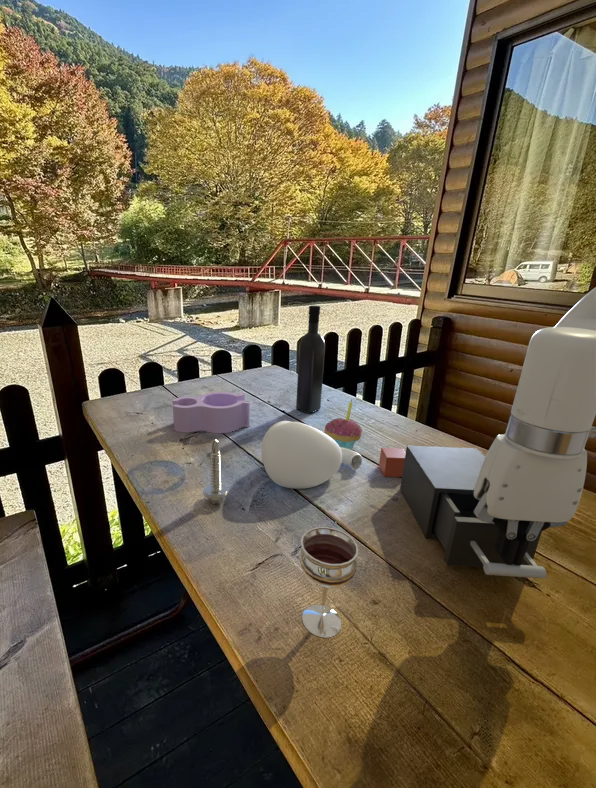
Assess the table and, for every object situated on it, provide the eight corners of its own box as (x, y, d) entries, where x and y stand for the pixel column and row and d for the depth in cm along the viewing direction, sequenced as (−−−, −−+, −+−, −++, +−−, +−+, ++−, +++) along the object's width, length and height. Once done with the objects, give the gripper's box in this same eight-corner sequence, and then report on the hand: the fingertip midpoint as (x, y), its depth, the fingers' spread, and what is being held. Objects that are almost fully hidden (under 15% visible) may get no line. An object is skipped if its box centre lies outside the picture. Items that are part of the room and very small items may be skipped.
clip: (175, 437, 104) (173, 411, 101) (173, 417, 115) (171, 394, 113) (252, 430, 107) (252, 406, 104) (242, 412, 118) (242, 390, 116)
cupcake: (337, 436, 103) (342, 392, 99) (367, 448, 97) (373, 401, 93) (315, 447, 98) (319, 400, 94) (346, 460, 92) (351, 411, 88)
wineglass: (324, 592, 57) (331, 520, 53) (360, 629, 51) (371, 552, 47) (284, 611, 54) (288, 537, 50) (318, 653, 48) (326, 574, 44)
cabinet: (506, 543, 66) (521, 492, 63) (425, 538, 67) (435, 488, 64) (466, 492, 80) (476, 448, 76) (399, 488, 81) (406, 445, 78)
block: (400, 466, 89) (402, 448, 87) (406, 477, 85) (409, 458, 83) (378, 465, 90) (381, 447, 88) (383, 476, 85) (386, 457, 84)
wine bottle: (294, 409, 121) (299, 306, 110) (306, 404, 124) (312, 304, 114) (310, 414, 117) (317, 308, 106) (321, 409, 120) (329, 306, 110)
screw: (231, 506, 76) (205, 509, 75) (226, 491, 81) (201, 494, 80) (230, 443, 72) (203, 446, 71) (225, 432, 76) (199, 434, 75)
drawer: (555, 604, 54) (572, 556, 51) (464, 597, 55) (476, 550, 52) (484, 513, 72) (494, 475, 69) (417, 510, 73) (424, 472, 70)
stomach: (367, 498, 85) (299, 459, 106) (383, 437, 84) (311, 410, 105) (278, 497, 75) (221, 453, 96) (294, 427, 73) (233, 399, 94)
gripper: (590, 423, 51) (549, 543, 58) (464, 418, 53) (438, 535, 59) (640, 452, 44) (587, 584, 51) (494, 444, 46) (460, 574, 52)
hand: (507, 557), depth 55 cm, fingers closed
